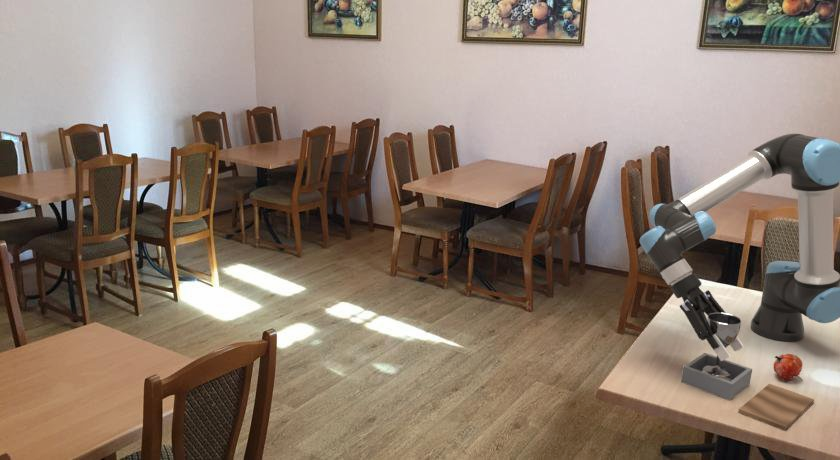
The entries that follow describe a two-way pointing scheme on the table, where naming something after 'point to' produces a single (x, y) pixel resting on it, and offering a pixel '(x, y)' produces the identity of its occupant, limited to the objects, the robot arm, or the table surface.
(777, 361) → the pomegranate
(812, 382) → the table surface
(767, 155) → the robot arm
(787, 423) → the board
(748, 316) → the table surface
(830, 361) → the table surface
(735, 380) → the square frame
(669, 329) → the table surface
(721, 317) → the wine glass
